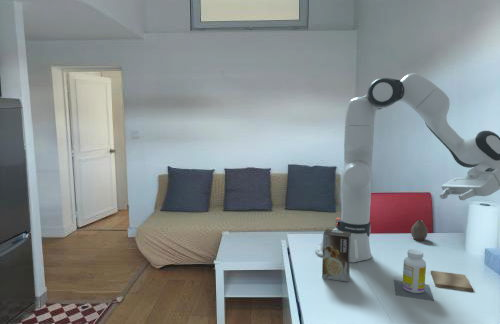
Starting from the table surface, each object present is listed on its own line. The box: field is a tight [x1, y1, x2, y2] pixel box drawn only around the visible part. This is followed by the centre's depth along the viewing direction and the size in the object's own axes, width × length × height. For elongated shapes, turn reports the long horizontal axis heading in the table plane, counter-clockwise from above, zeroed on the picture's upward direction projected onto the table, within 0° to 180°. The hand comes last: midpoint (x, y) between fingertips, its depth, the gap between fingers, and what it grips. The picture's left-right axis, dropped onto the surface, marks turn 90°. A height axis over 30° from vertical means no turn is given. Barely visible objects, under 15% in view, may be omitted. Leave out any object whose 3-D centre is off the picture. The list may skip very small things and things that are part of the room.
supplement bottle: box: [402, 248, 427, 293], centre depth 119 cm, size 7×7×13 cm
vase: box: [410, 219, 428, 241], centre depth 170 cm, size 7×7×9 cm
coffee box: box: [321, 228, 351, 283], centre depth 129 cm, size 9×6×16 cm
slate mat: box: [393, 279, 435, 301], centre depth 120 cm, size 11×11×1 cm
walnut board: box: [430, 270, 474, 292], centre depth 127 cm, size 11×11×1 cm
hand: (450, 197), depth 125 cm, fingers open, 8 cm apart
